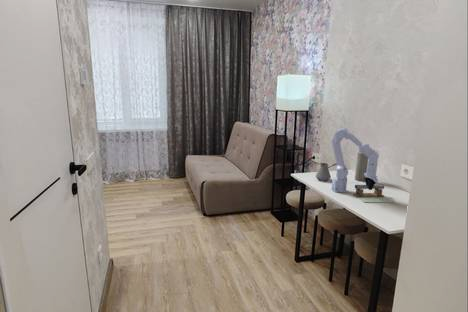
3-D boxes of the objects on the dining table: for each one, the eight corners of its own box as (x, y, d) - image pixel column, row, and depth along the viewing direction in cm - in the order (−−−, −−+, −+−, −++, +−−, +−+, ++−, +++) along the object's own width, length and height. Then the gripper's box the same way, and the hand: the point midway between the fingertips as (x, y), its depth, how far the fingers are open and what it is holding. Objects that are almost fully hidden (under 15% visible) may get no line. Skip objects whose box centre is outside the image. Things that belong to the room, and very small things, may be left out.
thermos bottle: (366, 179, 235) (370, 145, 228) (364, 182, 228) (369, 146, 222) (355, 177, 239) (359, 143, 232) (353, 180, 232) (357, 145, 226)
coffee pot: (318, 182, 226) (320, 163, 223) (313, 177, 237) (314, 159, 234) (345, 181, 229) (347, 162, 225) (338, 177, 240) (340, 159, 236)
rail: (356, 188, 197) (356, 186, 196) (354, 187, 199) (354, 184, 198) (383, 188, 198) (384, 186, 197) (382, 187, 200) (382, 184, 200)
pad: (364, 202, 187) (364, 201, 187) (358, 198, 194) (359, 197, 194) (394, 202, 189) (394, 201, 188) (388, 198, 195) (388, 197, 195)
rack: (356, 197, 197) (357, 189, 195) (353, 194, 201) (353, 187, 200) (383, 197, 198) (384, 189, 196) (379, 194, 203) (380, 187, 201)
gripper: (383, 172, 188) (380, 192, 192) (372, 166, 202) (369, 185, 206) (373, 172, 188) (370, 192, 191) (362, 166, 202) (359, 185, 205)
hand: (369, 188), depth 198 cm, fingers closed on rail, 2 cm apart
